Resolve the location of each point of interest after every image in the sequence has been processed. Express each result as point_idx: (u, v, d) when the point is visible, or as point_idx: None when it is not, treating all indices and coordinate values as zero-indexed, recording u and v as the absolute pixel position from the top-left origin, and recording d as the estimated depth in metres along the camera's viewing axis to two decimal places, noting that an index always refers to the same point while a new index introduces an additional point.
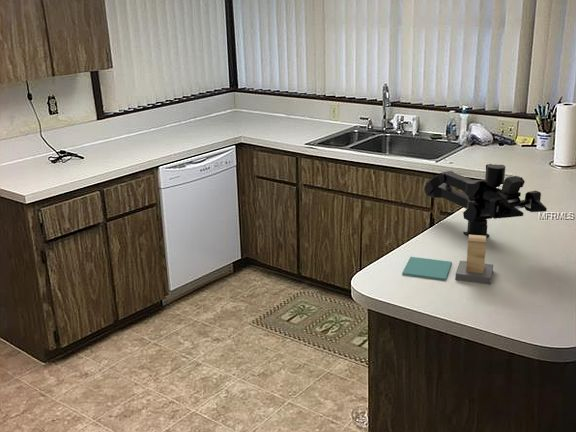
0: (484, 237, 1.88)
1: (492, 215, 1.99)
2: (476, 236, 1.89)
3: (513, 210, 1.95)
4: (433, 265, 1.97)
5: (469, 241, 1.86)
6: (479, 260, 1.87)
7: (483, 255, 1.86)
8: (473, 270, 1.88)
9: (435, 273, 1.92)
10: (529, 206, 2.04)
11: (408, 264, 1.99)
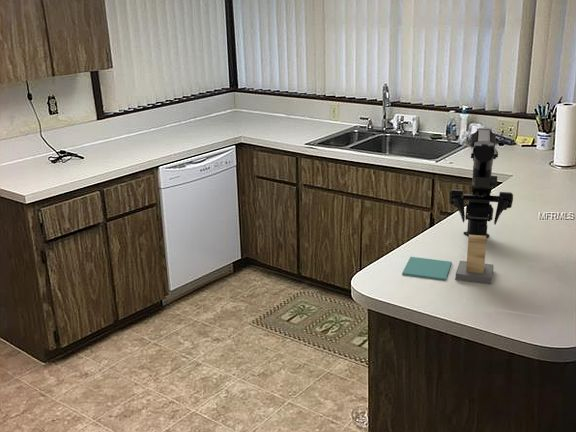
0: (484, 237, 1.88)
1: None
2: (476, 236, 1.89)
3: (460, 212, 1.96)
4: (433, 265, 1.97)
5: (469, 241, 1.86)
6: (479, 260, 1.87)
7: (483, 255, 1.86)
8: (473, 270, 1.88)
9: (435, 273, 1.92)
10: None
11: (408, 264, 1.99)
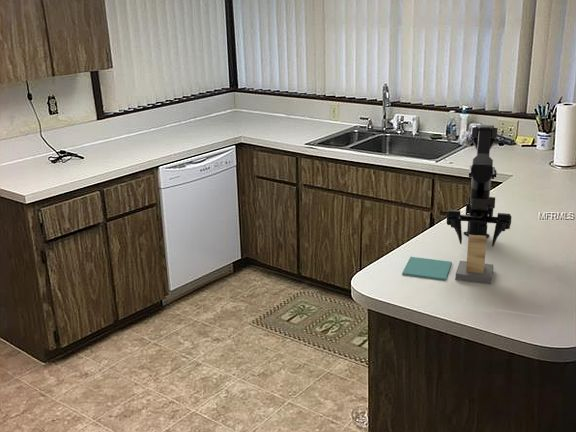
0: (484, 237, 1.88)
1: None
2: (476, 236, 1.89)
3: (458, 233, 1.92)
4: (433, 265, 1.97)
5: (469, 241, 1.86)
6: (479, 260, 1.87)
7: (483, 255, 1.86)
8: (473, 270, 1.88)
9: (435, 273, 1.92)
10: None
11: (408, 264, 1.99)
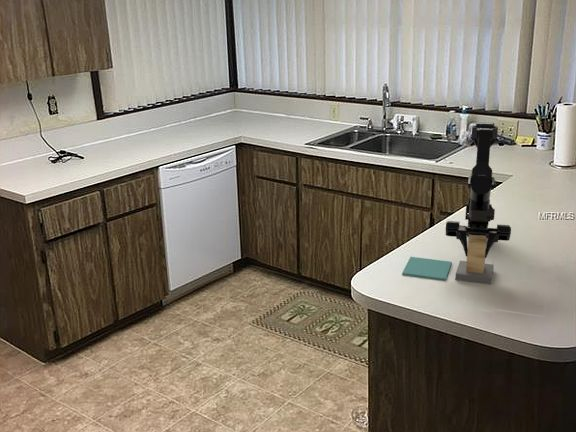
0: (484, 237, 1.88)
1: None
2: (476, 236, 1.89)
3: (463, 245, 1.90)
4: (433, 265, 1.97)
5: (469, 241, 1.86)
6: (479, 260, 1.87)
7: (483, 255, 1.86)
8: (473, 270, 1.88)
9: (435, 273, 1.92)
10: None
11: (408, 264, 1.99)
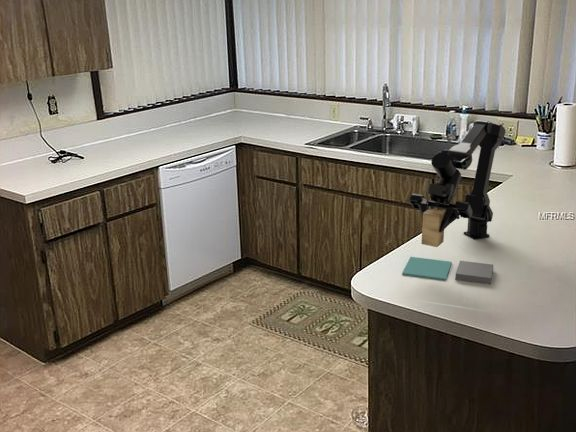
0: (441, 212, 1.89)
1: None
2: (435, 210, 1.91)
3: None
4: (433, 265, 1.97)
5: (423, 214, 1.89)
6: (432, 233, 1.89)
7: (436, 229, 1.88)
8: (428, 243, 1.91)
9: (435, 273, 1.92)
10: None
11: (408, 264, 1.99)
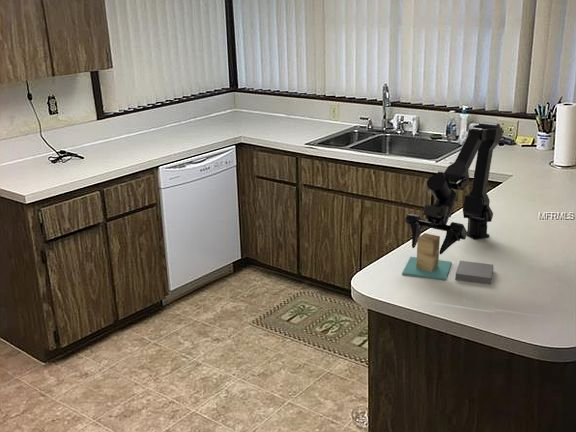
0: (436, 237, 1.92)
1: None
2: (429, 235, 1.94)
3: None
4: None
5: (418, 239, 1.92)
6: (427, 258, 1.92)
7: (430, 254, 1.91)
8: (422, 268, 1.94)
9: (435, 273, 1.92)
10: None
11: (408, 264, 1.99)
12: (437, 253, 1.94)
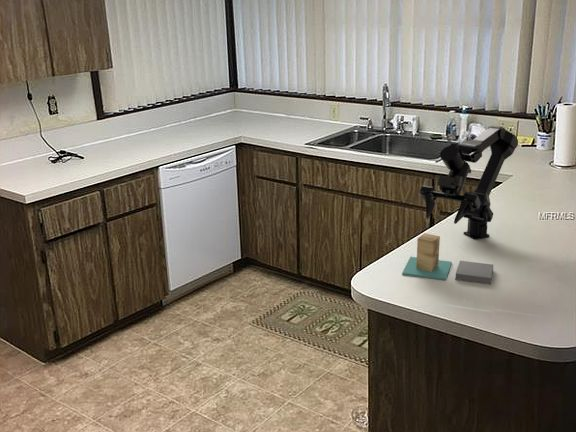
0: (436, 237, 1.92)
1: None
2: (429, 235, 1.94)
3: None
4: None
5: (418, 239, 1.92)
6: (427, 258, 1.92)
7: (430, 254, 1.91)
8: (422, 268, 1.94)
9: (435, 273, 1.92)
10: None
11: (408, 264, 1.99)
12: (437, 253, 1.94)
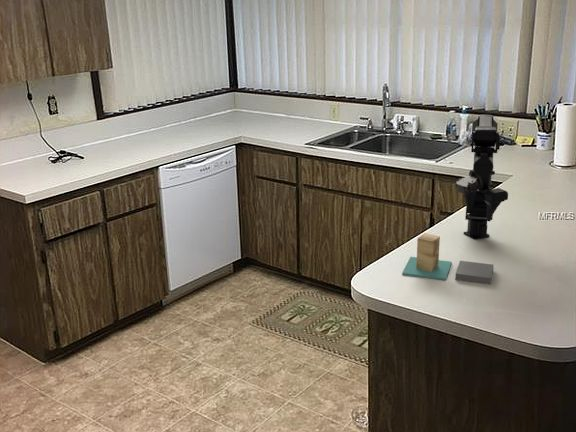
0: (436, 237, 1.92)
1: None
2: (429, 235, 1.94)
3: None
4: None
5: (418, 239, 1.92)
6: (427, 258, 1.92)
7: (430, 254, 1.91)
8: (422, 268, 1.94)
9: (435, 273, 1.92)
10: None
11: (408, 264, 1.99)
12: (437, 253, 1.94)
